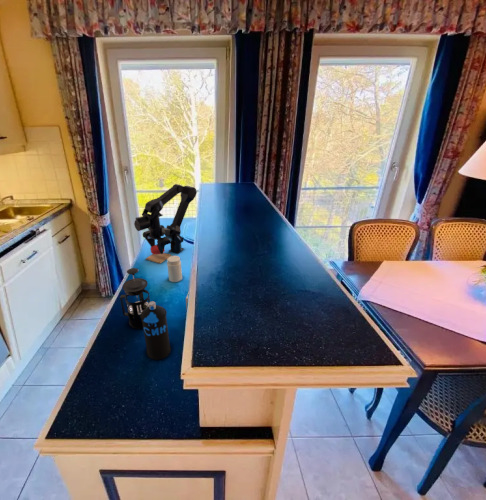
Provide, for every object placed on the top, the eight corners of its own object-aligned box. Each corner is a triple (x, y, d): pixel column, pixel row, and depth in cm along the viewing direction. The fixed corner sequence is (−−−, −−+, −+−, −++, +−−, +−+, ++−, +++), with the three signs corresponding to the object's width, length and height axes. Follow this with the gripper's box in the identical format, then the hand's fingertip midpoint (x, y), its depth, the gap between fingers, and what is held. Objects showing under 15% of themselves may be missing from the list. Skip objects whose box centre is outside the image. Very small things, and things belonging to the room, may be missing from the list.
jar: (173, 273, 141) (171, 254, 136) (184, 276, 138) (183, 257, 133) (166, 280, 135) (163, 260, 131) (177, 283, 132) (175, 263, 128)
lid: (151, 255, 151) (150, 251, 150) (150, 249, 158) (150, 245, 157) (165, 253, 152) (164, 249, 151) (164, 247, 159) (163, 243, 158)
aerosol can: (147, 342, 99) (140, 296, 90) (171, 340, 99) (165, 294, 90) (145, 361, 91) (136, 312, 82) (170, 358, 92) (164, 310, 83)
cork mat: (156, 252, 163) (156, 251, 163) (171, 255, 158) (170, 254, 158) (145, 259, 155) (145, 258, 155) (160, 263, 151) (160, 262, 150)
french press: (157, 313, 113) (150, 263, 103) (152, 329, 105) (144, 277, 95) (128, 313, 114) (119, 263, 104) (121, 329, 105) (110, 277, 95)
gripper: (177, 225, 147) (179, 252, 154) (157, 217, 159) (160, 242, 166) (159, 231, 140) (163, 259, 147) (140, 222, 153) (144, 248, 159)
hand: (157, 251), depth 155 cm, fingers closed on lid, 7 cm apart
